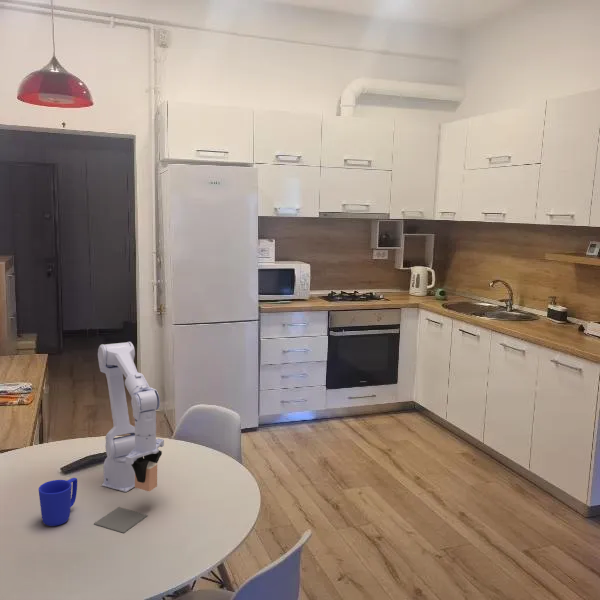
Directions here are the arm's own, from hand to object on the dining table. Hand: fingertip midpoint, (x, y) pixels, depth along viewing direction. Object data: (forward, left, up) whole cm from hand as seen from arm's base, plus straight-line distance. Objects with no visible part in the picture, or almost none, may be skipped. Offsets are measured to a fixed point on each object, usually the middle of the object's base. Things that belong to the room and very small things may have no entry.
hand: (145, 478), depth 165 cm
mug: (-17, -14, -9) cm, 24 cm away
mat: (-2, -8, -9) cm, 12 cm away
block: (0, 0, -2) cm, 3 cm away
